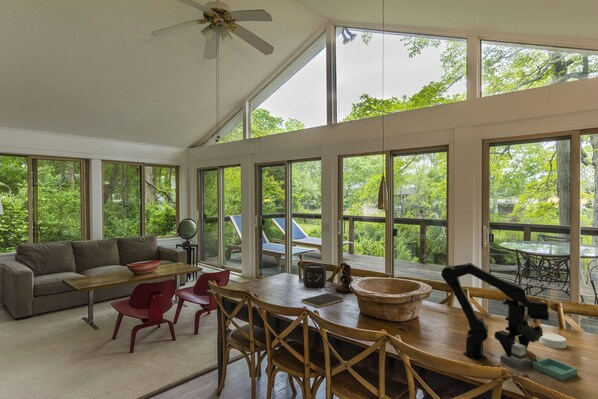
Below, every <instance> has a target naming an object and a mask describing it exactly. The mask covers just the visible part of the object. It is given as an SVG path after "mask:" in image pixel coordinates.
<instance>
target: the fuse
mask: <svg viewBox="0 0 598 399" xmlns="http://www.w3.org/2000/svg"><path fill="white" fill-rule="evenodd" d="M525 350H526V346H524V345H521V344H519V343H516V342H515V344H514V345H512V351H511V357H510V358H513V359H515V360H517V361H520V362H523V361H525V357H526V353H525Z"/></svg>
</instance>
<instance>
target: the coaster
mask: <svg viewBox="0 0 598 399" xmlns="http://www.w3.org/2000/svg"><path fill="white" fill-rule="evenodd" d="M567 341H568V340H567V339H566V337H564V336H562V335H560V334H556V333H552V332H543V336H542V337H540V339H539V341H538V342H539V343H541V344H542V345H544V346H547V347H550V348H553V349H559V350H560V349H561V350H562V349H566V348H567V346H568V345H567V344H568V342H567Z"/></svg>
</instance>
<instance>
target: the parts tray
mask: <svg viewBox="0 0 598 399" xmlns="http://www.w3.org/2000/svg"><path fill="white" fill-rule="evenodd" d="M532 370H535V371H537V372H539V373H541V374H543V375H546V376H549V377H550V378H553V379H555V380H558V381H560V382H564V381H567V380H569V379H572V378H575V377H577V376H578V368H576V367H574V366H572V365H569V364H566V363H564V362H561V361H558V360H557V359H556V360H555V359H553V358H551V357H545V358H542V359H539V360H538V359H537V362H534V361H533V367H532Z"/></svg>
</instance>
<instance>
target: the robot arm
mask: <svg viewBox="0 0 598 399" xmlns="http://www.w3.org/2000/svg"><path fill="white" fill-rule="evenodd" d="M467 275H471V276H473V277H475V278H477V279H479V280H480V281H483V282H485V283H487V284H488V285H491V286H492V287H494V288H496V289H498V290H499V291H501V292H502V293H503V294H504V295H506V296H507V297H505V298H504V299H503V300H502V304H503V305H505V306H506V305H507V316H506V317H505V321H507V326H506V327H505V330H506V331H505V330H503V329H502V330H501V329H500V330H498V331H496V332H494V339H496V340H497V341H499V343H500V345H501V346H502V349H503V350H504V354H506V355H507V357H509V358H510V357H511V351H512V345H514V344H515V337H517V336H518V339H519V343H520V344H521V345H524V346H526V350H528V347H529V344H530V342H531V343H536V342H540V341H539V340H540V337H542V336H543V333H544V332H543V328H542V327H541V326H540V325H537V326H533V325H529V321H528V320H527V319H526V316H528V317H529V319H534V320H539V321H546V322H548V321H549V318H550V316H549V310H548V309H549V308H548V303H547V302H546V301H533V300H530V299H529V297H528V296H526V292H525V290H524V288H523V286H522V285H520V284H518V283H516V282H513V281H510V280H505V279H502V278H501V277H498V276H497V275H494V274H492V273H490V272H488V271H486V270H484V269H482V268H480V267H478V266H476V265H475V264H473V263H471V262H467V263H464V264H458V265H457V264H456V265H450V264H449V265H448V264H447V265H445V266H444V267H443V268H442V271H441V278H442V279H443V280H444V281H445V283H446V284H447V285H448V286H449V287H450V289H451V290H452V291H453V294H454V295H455V298H456V300H457V301H458V304H459V305H460V307H461V310H462V312H463V313H464V315H465V317H466V319H467V321H468V325H469V330H468V331H467V332H466V341H465V351H462V354H463V355H465V356H466V357H469V358H471V359H473V360H475V361H478V360H481V359H485V358H487V355H485V354H484V341H486V340H487V339H488V335H489V334H488V332H489V326H488V325H487V324H486V322H485V319H484V317H481V318H480V317H479V316H478V315H477V314H476V311H475V310H474V307H473V305H472V304H471V302H470V300H469V298H468V296H467V294H466V292H465V290H464V289H463V287H462V284H461V280H460V277H463V276H467ZM509 298H510V299H509ZM525 311H526V312H525ZM526 350H525V352H526Z"/></svg>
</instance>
